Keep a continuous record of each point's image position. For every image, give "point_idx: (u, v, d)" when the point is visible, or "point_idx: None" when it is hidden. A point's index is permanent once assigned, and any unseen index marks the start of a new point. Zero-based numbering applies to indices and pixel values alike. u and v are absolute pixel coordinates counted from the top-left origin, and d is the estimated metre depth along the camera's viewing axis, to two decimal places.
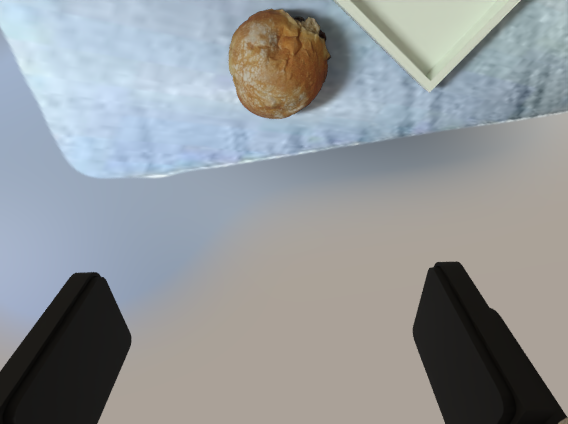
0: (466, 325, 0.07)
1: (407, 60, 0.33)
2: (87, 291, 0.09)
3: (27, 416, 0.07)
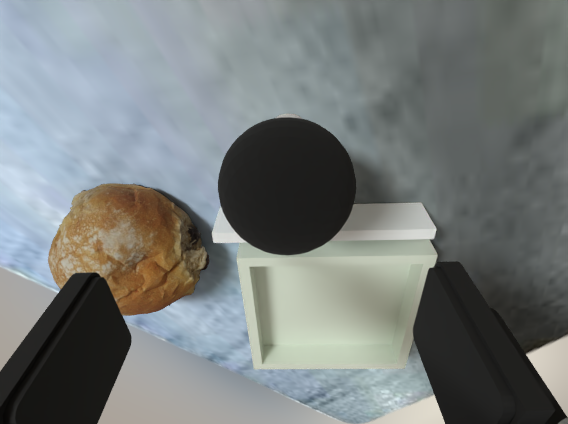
0: (466, 325, 0.07)
1: (257, 341, 0.29)
2: (87, 291, 0.09)
3: (27, 416, 0.07)
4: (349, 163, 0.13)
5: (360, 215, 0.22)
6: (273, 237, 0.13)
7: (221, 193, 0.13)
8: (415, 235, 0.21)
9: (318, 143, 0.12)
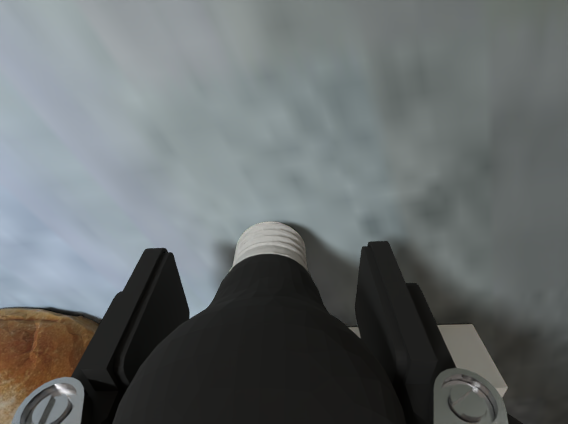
0: (381, 294, 0.08)
1: None
2: (161, 264, 0.09)
3: (130, 367, 0.07)
4: None
5: None
6: None
7: None
8: None
9: None
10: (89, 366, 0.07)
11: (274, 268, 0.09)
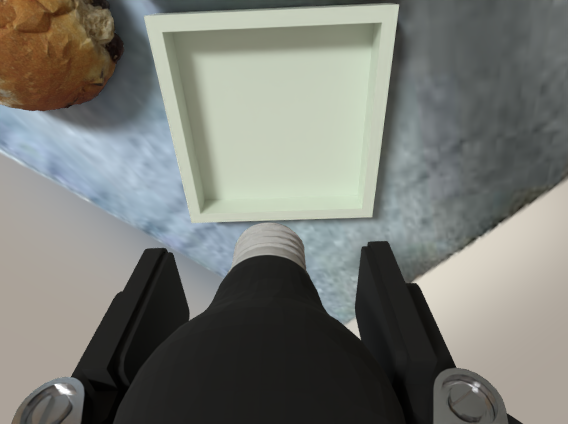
0: (381, 294, 0.08)
1: (189, 173, 0.23)
2: (161, 264, 0.09)
3: (130, 367, 0.07)
4: None
5: None
6: None
7: None
8: None
9: None
10: (89, 366, 0.07)
11: (273, 269, 0.09)
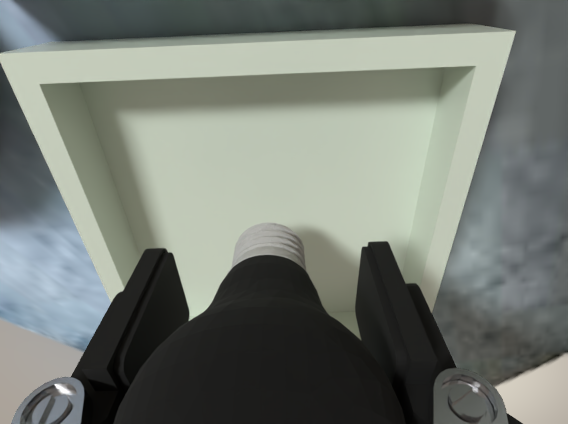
0: (381, 294, 0.08)
1: None
2: (161, 264, 0.09)
3: (130, 368, 0.07)
4: None
5: None
6: None
7: None
8: None
9: None
10: (89, 366, 0.07)
11: (273, 269, 0.09)
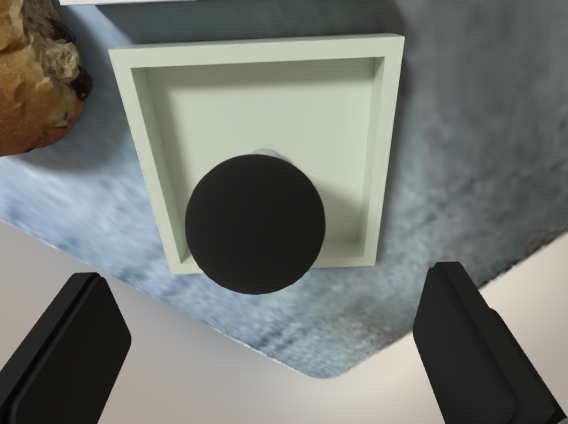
0: (466, 325, 0.07)
1: (167, 222, 0.20)
2: (87, 291, 0.09)
3: (27, 416, 0.07)
4: (316, 199, 0.13)
5: None
6: (238, 277, 0.12)
7: (186, 232, 0.13)
8: None
9: (283, 180, 0.12)
10: None
11: None
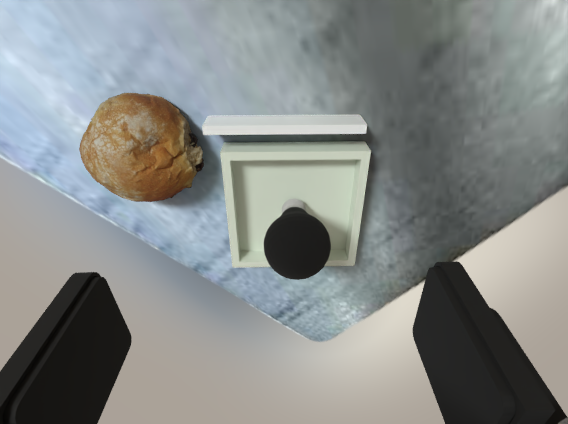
0: (466, 325, 0.07)
1: (235, 237, 0.35)
2: (87, 291, 0.09)
3: (27, 416, 0.07)
4: (327, 235, 0.28)
5: (313, 119, 0.30)
6: (293, 271, 0.28)
7: (267, 250, 0.28)
8: (352, 130, 0.29)
9: (313, 228, 0.28)
10: None
11: (297, 209, 0.32)
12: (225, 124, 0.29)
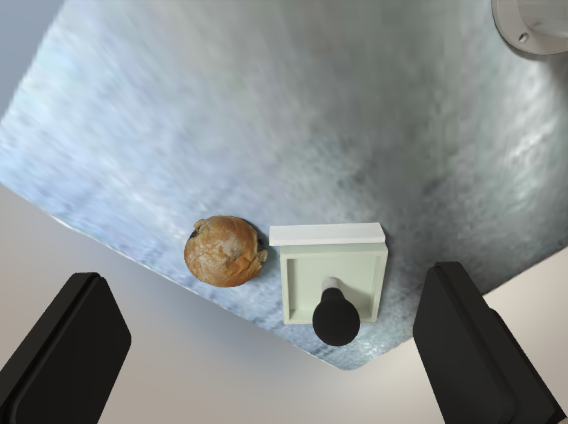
0: (466, 325, 0.07)
1: (287, 305, 0.48)
2: (87, 291, 0.09)
3: (27, 416, 0.07)
4: (357, 316, 0.41)
5: (346, 230, 0.42)
6: (334, 343, 0.40)
7: (315, 327, 0.41)
8: (374, 240, 0.41)
9: (348, 313, 0.40)
10: None
11: (334, 290, 0.44)
12: (285, 238, 0.41)
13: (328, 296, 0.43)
